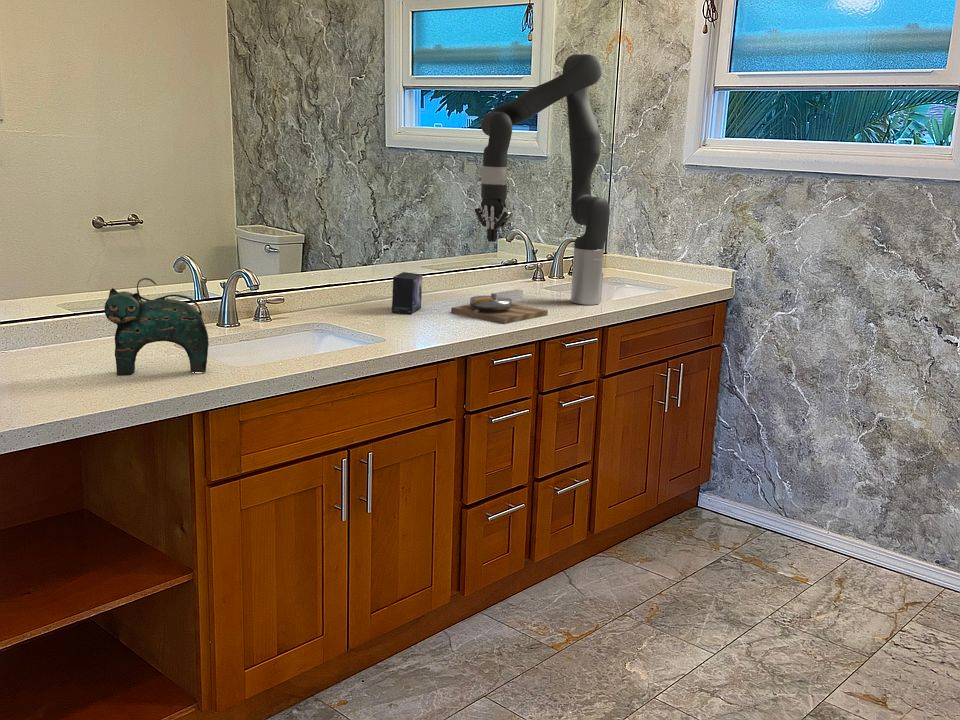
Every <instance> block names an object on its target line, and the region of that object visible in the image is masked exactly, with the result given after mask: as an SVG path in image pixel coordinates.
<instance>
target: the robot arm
mask: <svg viewBox="0 0 960 720" xmlns="http://www.w3.org/2000/svg"><path fill="white" fill-rule="evenodd" d="M602 73H603V65H602V63H601V61H600V59H599V58H598V57H596V56H595V55H592V54H588V53H587V54H586V53H585V54H584V53H582V54H581V53H575V54H572V55H569V56H568V57H566V60H565V61H564V63H563V66H562V73H561V74H560V75H558V76H557V77H555V78H553V79H551V80H548V81H546V82H544V83H542V84H541V83H540V84H539V85H536V86H534V87H532V88H529V89H528V90H526V91H525V92H523V93H522V94H520V95H518V96H516V97H515V98H514V99H511V101H509V102H508V103H507V102H506V103H505V104H502V105H500V106H497V107H496V108H495V109H492V110H490V111H489V112H487V113H486V114H484V116H483V117H482V119H481V122H480V128H481V130H482V132H483V133H484V134H485V135H486V136H488V144H487V145H486V146H485V147H484V149H483V155H482V156H483V157H482V158H483V159H482V170H481V171H482V172H481V186H480V187H481V188H480V196H481V202H480V206H478V208H476V207H475V208H474V212H475V214H476V217H477V219H478V220H479V222H480V224H481V226H482V227H485V228H486V240H487V242H489V243H495V242H496V241H497V239H498V229H500V228H504V227H505V225H506V224H507V222H508V221H509V219H510V218H511V216H513V215H512V214H513V212H512V211H511V210H510V211H509V210H508V209H507V204H506V199H507V193H508V190H507V189H508V151H509V147H510V143H511V138H512V135H513V134H512V133H513V126H514V125H516V124H520V123H524V122H526V121H527V120H530V119H531V118H533V117H535V115H537V114H539V113H540V112H541V111H542V112H543V110H545V109H547V108H548V107H550V106H551V105H553V104H554V103H556V102H558V101H560V100H562V99H564V98H565V99H566V104H567V105H566V106H567V119H568V120H567V121H568V122H567V123H568V134H569V136H568V137H569V141H568V142H569V152H570V164H571V167H570V168H571V195H570V196H571V197H570V202H571V203H570V211H571V217H572V219H573V221H574V223H576V224H577V225H579V226H584V227H586V228H585V231H584V234H583V235H581V236H578V237H576V238H575V239H574V245H573V260H572V261H573V262H572V276H571V277H572V278H571V289H570V290H571V291H570V302H571V303H572V304H573V303H574V304H576V305H577V304H578V305H588V306H590V305H599V304H600V303H601V302H602V296H603V295H602V293H603V292H602V291H603V282H604V281H603V280H604V272H603V266H604V250H605V249H604V248H605V243H606V242H607V238H608V235H609V233H608V231H609V225H610V224H609V223H610V216H611V209H610V205H609V202H608V200H606V199H605V198H604V197H600V196H592V192H591V191H592V190H591V187H592V186H591V184H592V183H591V181H592V177H593V172H594V170H595V168H596V166H597V164H598V161H599V158H600V155H601V136H600V135H601V134H600V133H601V132H600V128H599V125H598V122H597V119H596V117H595V114H594V112H593V109H592V107H591V103H590V95H589V94H590V93H589V92H590V91H589V87H591V86H593V85H595V84H596V83H597V82H598V81H599V80H600V78H601V77H602Z"/></svg>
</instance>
